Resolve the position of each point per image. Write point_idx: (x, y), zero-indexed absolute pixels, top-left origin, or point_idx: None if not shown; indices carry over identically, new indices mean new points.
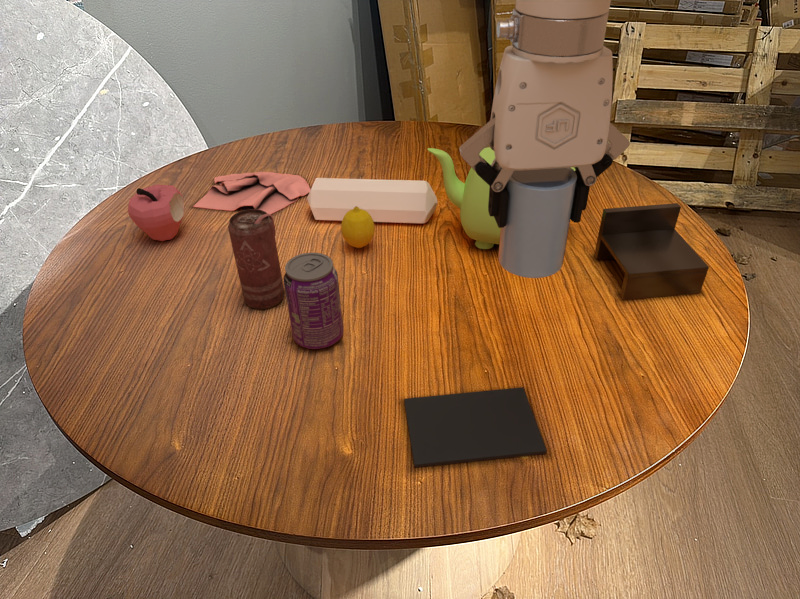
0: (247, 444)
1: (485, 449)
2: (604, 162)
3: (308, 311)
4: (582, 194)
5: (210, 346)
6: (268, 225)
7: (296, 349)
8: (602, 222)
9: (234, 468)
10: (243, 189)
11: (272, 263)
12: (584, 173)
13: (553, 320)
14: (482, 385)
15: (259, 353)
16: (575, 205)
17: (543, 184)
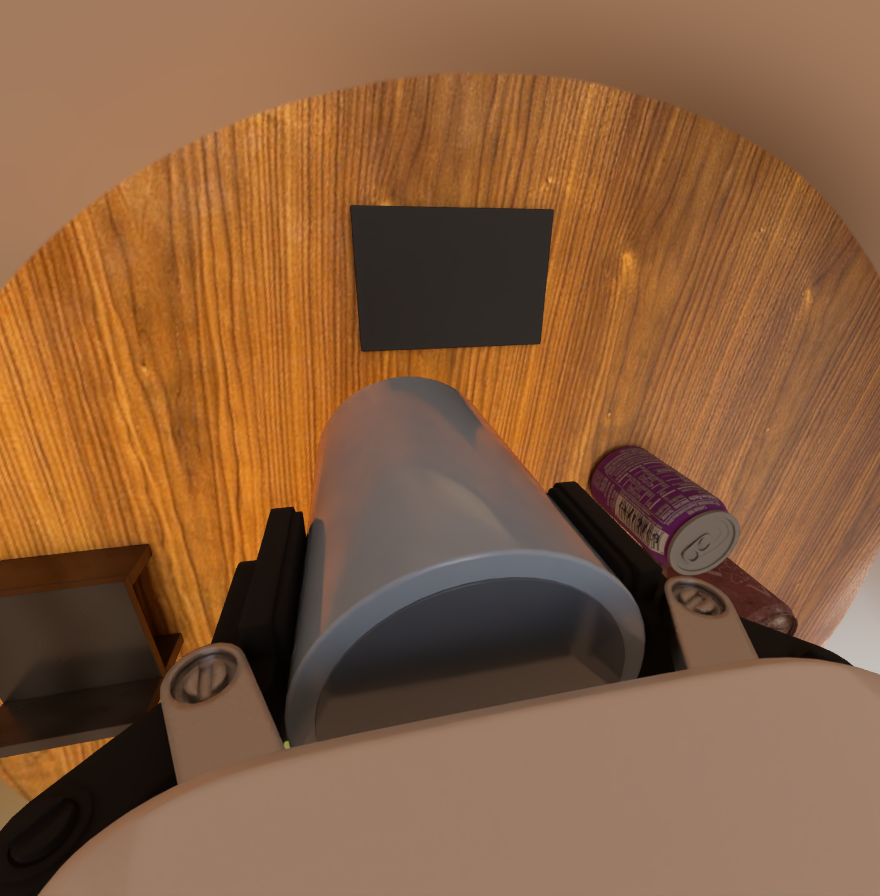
0: (737, 287)
1: (447, 223)
2: (63, 829)
3: (680, 477)
4: (260, 596)
5: (739, 460)
6: None
7: (648, 451)
8: (155, 701)
9: (760, 247)
10: None
11: (699, 574)
12: (242, 714)
13: (281, 498)
14: (421, 366)
15: (691, 445)
16: (294, 555)
17: (511, 605)
